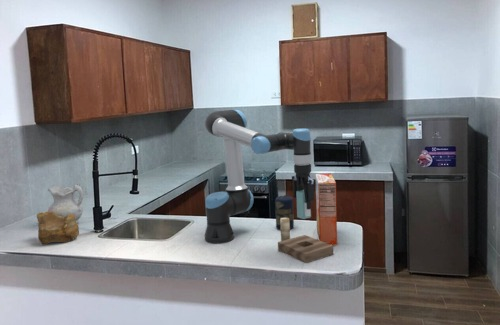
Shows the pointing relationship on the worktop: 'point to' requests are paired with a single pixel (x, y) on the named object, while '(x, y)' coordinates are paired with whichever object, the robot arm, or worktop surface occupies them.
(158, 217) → the worktop surface
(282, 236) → the round dowel
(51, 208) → the ceramic pitcher
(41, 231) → the rough brown rock
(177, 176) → the worktop surface
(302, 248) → the socket block
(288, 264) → the worktop surface
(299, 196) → the square peg
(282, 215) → the canister
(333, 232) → the pasta box
